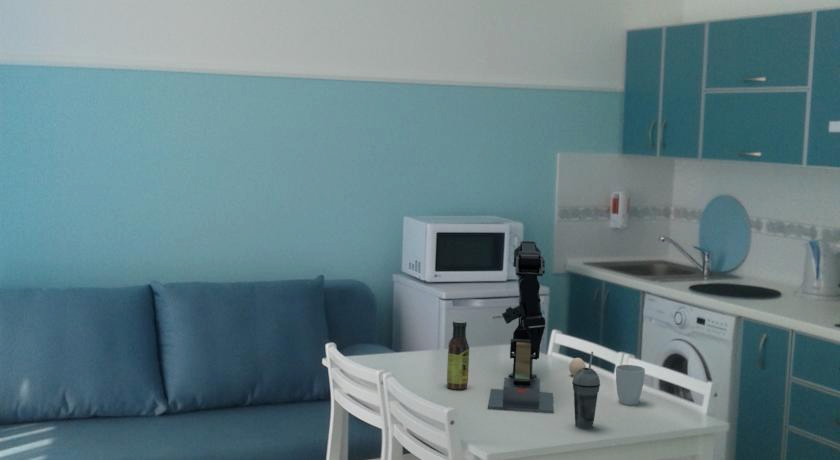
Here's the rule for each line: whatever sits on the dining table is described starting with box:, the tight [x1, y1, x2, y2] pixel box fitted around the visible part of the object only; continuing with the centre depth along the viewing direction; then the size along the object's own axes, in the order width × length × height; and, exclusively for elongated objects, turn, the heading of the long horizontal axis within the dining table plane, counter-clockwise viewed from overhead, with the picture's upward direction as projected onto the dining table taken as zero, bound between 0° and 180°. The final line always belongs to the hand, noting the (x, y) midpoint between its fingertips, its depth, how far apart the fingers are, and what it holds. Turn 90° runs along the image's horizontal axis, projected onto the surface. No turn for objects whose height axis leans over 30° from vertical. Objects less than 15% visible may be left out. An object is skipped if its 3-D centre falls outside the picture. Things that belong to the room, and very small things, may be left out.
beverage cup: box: [572, 351, 601, 430], centre depth 262 cm, size 7×7×20 cm
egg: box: [568, 357, 587, 376], centre depth 314 cm, size 5×5×6 cm
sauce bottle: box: [446, 319, 470, 391], centre depth 296 cm, size 6×6×20 cm
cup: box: [615, 364, 646, 406], centre depth 286 cm, size 8×8×10 cm
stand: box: [487, 377, 555, 414], centre depth 284 cm, size 18×18×6 cm
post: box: [515, 342, 531, 381], centre depth 283 cm, size 4×4×10 cm
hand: (535, 349), depth 290 cm, fingers open, 9 cm apart
